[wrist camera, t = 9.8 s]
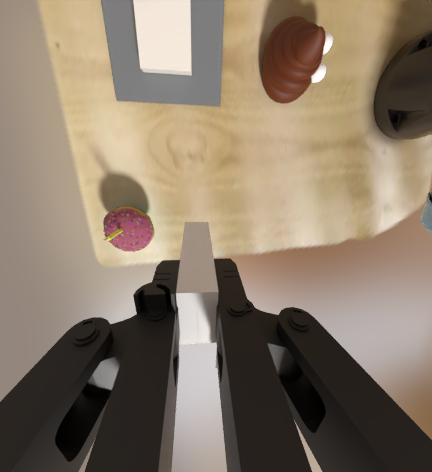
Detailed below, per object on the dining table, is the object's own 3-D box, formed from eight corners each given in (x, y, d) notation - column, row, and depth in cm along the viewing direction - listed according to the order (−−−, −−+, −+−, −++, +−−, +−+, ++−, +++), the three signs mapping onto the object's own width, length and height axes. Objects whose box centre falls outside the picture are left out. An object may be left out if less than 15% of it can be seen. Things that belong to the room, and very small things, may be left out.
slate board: (224, -30, 26) (225, -33, 25) (219, 106, 32) (220, 106, 32) (95, -46, 24) (93, -50, 24) (118, 101, 31) (116, 100, 30)
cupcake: (103, 213, 38) (68, 242, 28) (139, 191, 37) (116, 212, 27) (133, 246, 42) (112, 283, 31) (166, 226, 41) (156, 258, 30)
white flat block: (191, 75, 30) (190, -22, 25) (191, 71, 28) (189, -35, 24) (143, 72, 29) (133, -28, 25) (140, 67, 27) (128, -43, 23)
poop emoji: (265, 19, 28) (294, -30, 20) (321, 26, 29) (371, -19, 21) (255, 102, 33) (276, 90, 24) (304, 106, 34) (340, 95, 25)
